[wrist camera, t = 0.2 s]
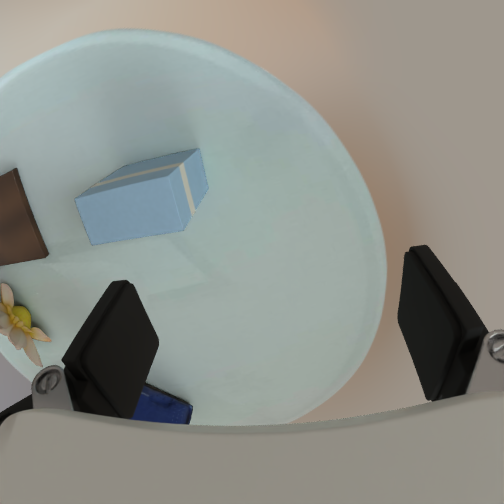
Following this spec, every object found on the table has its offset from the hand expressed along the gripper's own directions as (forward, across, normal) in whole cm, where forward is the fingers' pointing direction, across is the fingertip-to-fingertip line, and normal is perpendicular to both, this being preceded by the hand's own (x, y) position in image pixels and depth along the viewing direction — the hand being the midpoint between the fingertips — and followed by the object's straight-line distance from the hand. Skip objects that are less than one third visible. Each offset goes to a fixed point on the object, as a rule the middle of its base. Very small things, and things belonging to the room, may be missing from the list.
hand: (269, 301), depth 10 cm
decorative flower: (+20, +43, +15) cm, 50 cm away
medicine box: (+20, +10, 0) cm, 22 cm away
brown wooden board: (+20, +37, 0) cm, 42 cm away
